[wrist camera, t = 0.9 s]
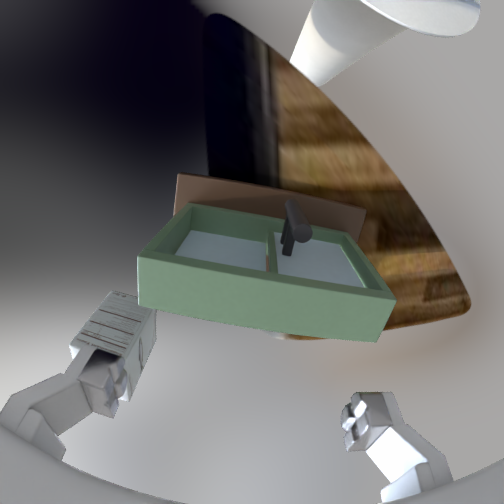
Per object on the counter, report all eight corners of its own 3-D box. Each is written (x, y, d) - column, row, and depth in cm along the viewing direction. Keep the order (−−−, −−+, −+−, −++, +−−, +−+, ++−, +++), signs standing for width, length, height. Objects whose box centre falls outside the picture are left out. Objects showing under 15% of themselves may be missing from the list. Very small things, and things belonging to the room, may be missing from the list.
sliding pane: (276, 190, 28) (285, 225, 18) (349, 206, 28) (392, 247, 18) (267, 235, 30) (269, 290, 20) (337, 248, 30) (369, 305, 20)
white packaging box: (157, 340, 40) (130, 404, 28) (113, 327, 40) (78, 384, 28) (159, 300, 37) (124, 366, 26) (111, 287, 37) (66, 344, 25)
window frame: (180, 172, 30) (117, 208, 16) (363, 207, 31) (429, 266, 17) (173, 253, 34) (122, 332, 20) (339, 282, 35) (376, 370, 21)
